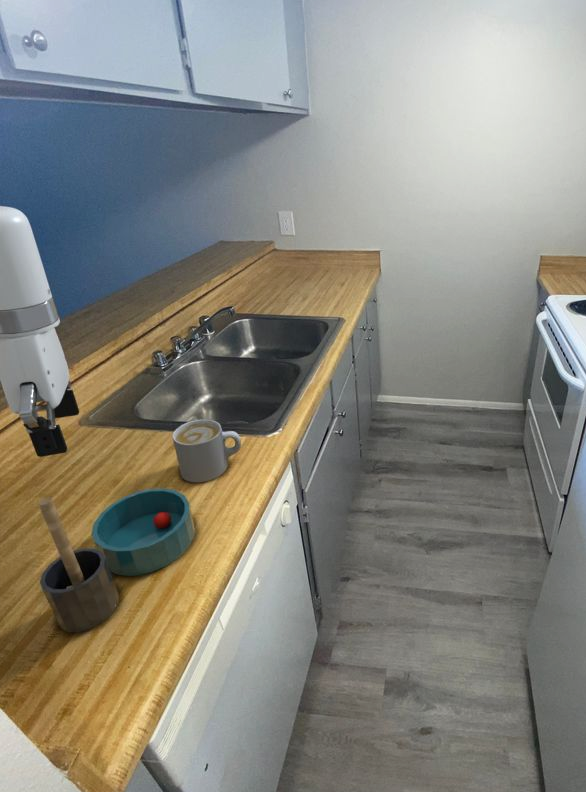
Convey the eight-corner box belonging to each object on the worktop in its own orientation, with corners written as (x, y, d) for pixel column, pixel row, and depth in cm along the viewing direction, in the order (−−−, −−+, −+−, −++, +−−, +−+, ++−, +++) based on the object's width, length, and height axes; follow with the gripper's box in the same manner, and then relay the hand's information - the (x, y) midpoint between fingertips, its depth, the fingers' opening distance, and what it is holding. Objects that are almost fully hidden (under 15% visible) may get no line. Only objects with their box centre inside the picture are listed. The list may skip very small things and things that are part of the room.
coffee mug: (176, 484, 102) (167, 447, 97) (185, 457, 111) (177, 421, 106) (241, 477, 105) (235, 440, 100) (244, 451, 113) (239, 416, 109)
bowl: (94, 587, 79) (85, 561, 76) (107, 523, 92) (98, 499, 89) (195, 560, 84) (189, 536, 82) (193, 503, 97) (188, 481, 94)
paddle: (74, 614, 74) (27, 507, 64) (76, 605, 75) (30, 500, 65) (101, 607, 75) (59, 501, 65) (102, 598, 76) (61, 494, 66)
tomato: (155, 533, 89) (151, 521, 87) (155, 522, 91) (152, 511, 90) (172, 529, 90) (169, 517, 89) (172, 518, 92) (169, 507, 91)
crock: (53, 640, 71) (33, 600, 66) (64, 595, 77) (47, 556, 73) (115, 621, 74) (100, 582, 69) (121, 580, 80) (107, 542, 76)
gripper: (1, 296, 62) (41, 407, 70) (-48, 346, 48) (9, 477, 56) (68, 292, 65) (99, 399, 73) (40, 338, 51) (82, 464, 59)
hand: (60, 433), depth 65 cm, fingers open, 9 cm apart
